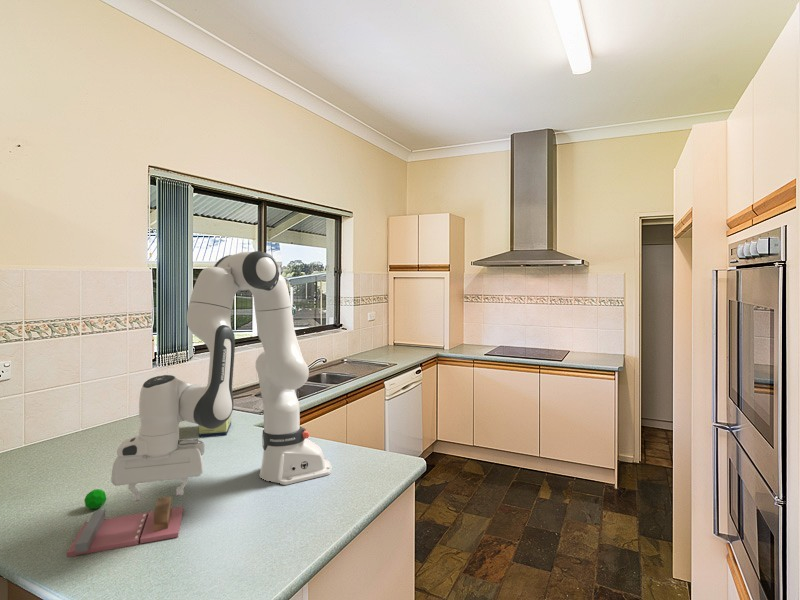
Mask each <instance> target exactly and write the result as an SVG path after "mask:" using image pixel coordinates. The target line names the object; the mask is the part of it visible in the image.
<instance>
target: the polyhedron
mask: <svg viewBox="0 0 800 600" xmlns="http://www.w3.org/2000/svg"><path fill="white" fill-rule="evenodd" d="M106 502H107V494H106V492H105V491H104V490H103V489H99V488H97V489H93V490H91V491H90V492H88V493H87V494H86V495H85V497H84V505H85V508H87V509H89V510H98V509H99V508H100V507H102V506H103V505H104V504H105V503H106Z"/></svg>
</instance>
